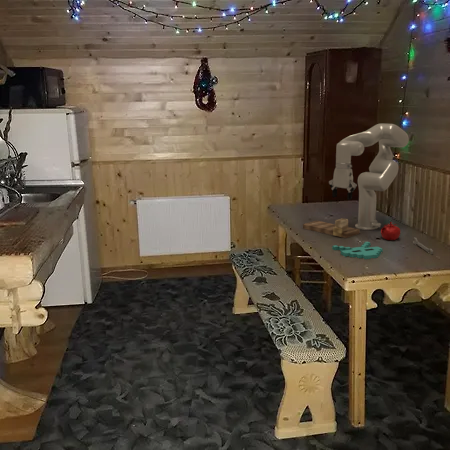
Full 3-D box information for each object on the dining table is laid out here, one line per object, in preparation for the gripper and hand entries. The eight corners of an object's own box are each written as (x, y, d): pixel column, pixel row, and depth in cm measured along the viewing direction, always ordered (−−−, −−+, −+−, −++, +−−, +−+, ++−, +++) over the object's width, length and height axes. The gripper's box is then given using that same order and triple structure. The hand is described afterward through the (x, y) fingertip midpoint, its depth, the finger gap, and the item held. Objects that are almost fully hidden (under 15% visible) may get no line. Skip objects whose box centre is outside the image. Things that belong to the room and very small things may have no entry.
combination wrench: (433, 248, 247) (415, 236, 266) (430, 248, 247) (412, 236, 266) (432, 256, 248) (414, 243, 267) (430, 256, 248) (412, 243, 267)
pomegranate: (402, 238, 277) (403, 221, 275) (396, 242, 269) (398, 224, 267) (383, 235, 282) (385, 218, 280) (377, 239, 274) (378, 222, 272)
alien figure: (332, 250, 261) (352, 261, 242) (332, 245, 260) (352, 257, 242) (368, 245, 266) (390, 257, 247) (368, 241, 265) (390, 252, 247)
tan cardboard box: (348, 234, 284) (349, 219, 282) (340, 236, 279) (341, 221, 277) (340, 232, 287) (341, 218, 285) (333, 235, 283) (333, 220, 281)
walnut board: (359, 233, 286) (359, 229, 286) (346, 238, 279) (346, 233, 278) (316, 224, 308) (316, 220, 308) (302, 228, 301) (302, 224, 300)
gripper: (361, 167, 271) (359, 199, 275) (334, 164, 284) (333, 195, 288) (352, 168, 266) (351, 201, 270) (325, 165, 279) (324, 197, 283)
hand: (342, 198), depth 279 cm, fingers open, 9 cm apart
